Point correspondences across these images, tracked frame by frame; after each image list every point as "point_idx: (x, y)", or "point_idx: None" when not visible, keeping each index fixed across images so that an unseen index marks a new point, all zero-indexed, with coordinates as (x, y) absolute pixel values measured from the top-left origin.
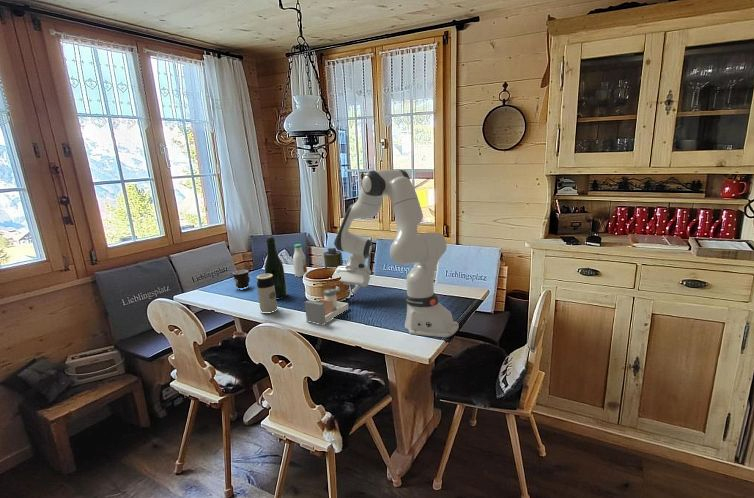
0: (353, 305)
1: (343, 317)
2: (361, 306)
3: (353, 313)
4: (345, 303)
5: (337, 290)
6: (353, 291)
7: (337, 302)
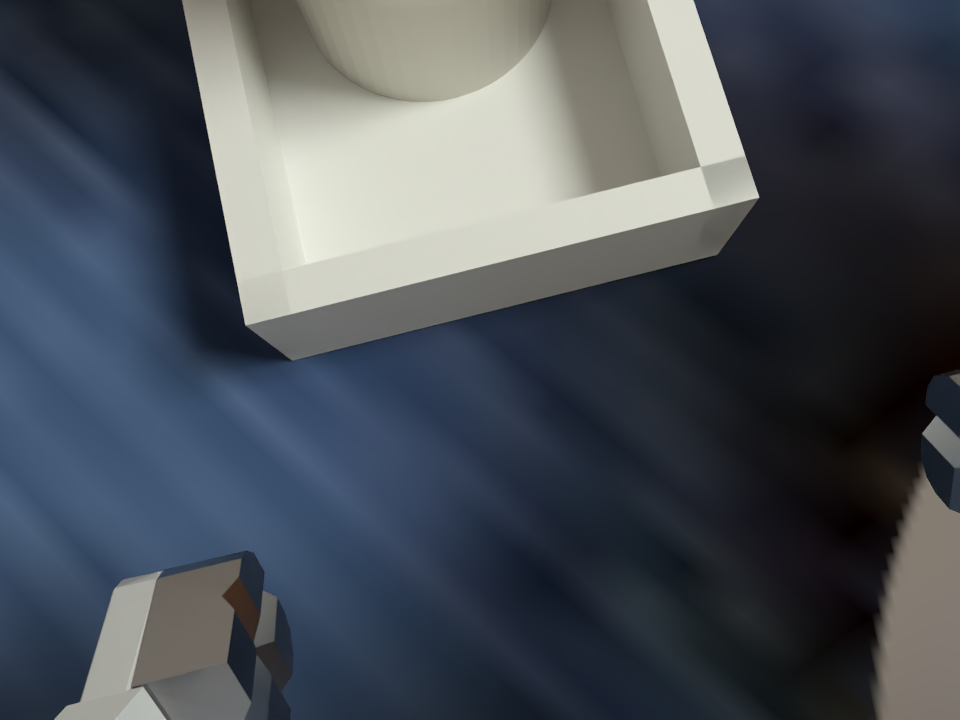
0: (385, 604)
1: (77, 22)
2: None
3: (42, 272)
4: (300, 269)
5: (951, 389)
6: (119, 593)
7: (562, 204)
